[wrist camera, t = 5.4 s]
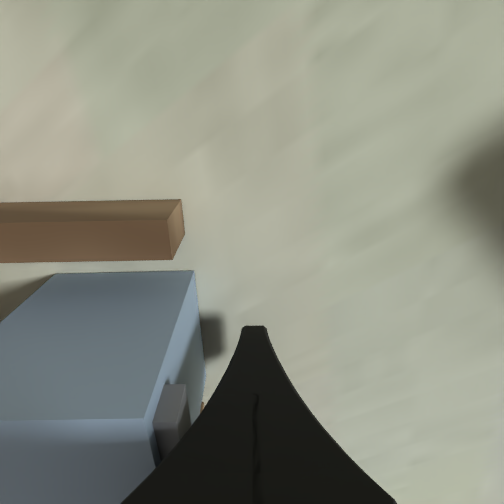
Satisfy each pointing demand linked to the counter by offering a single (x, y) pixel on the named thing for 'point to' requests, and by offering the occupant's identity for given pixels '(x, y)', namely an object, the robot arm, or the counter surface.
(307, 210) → the counter surface
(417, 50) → the counter surface
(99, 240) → the bay
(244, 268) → the counter surface
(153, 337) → the pale blue-grey cube
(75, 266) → the counter surface
